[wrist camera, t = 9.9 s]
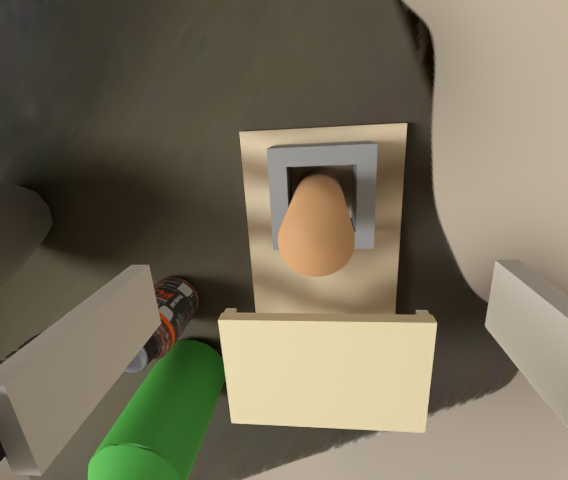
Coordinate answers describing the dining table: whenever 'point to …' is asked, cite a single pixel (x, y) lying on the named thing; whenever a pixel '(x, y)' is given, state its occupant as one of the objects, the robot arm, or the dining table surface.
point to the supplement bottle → (167, 320)
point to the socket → (322, 155)
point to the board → (388, 208)
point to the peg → (317, 226)
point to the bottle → (164, 418)
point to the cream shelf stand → (329, 369)
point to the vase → (20, 227)
